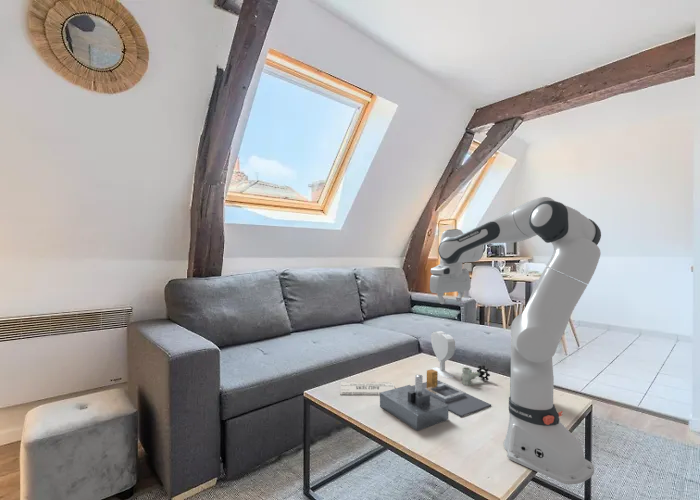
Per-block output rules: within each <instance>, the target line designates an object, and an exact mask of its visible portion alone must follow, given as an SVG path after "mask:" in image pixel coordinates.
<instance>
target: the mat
mask: <svg viewBox="0 0 700 500" xmlns="http://www.w3.org/2000/svg"><path fill="white" fill-rule="evenodd" d="M442 383H444V382H442V381H441V380H439V379H437V385H439V384H442ZM412 386H413V387H415V384H414V385H412ZM425 388H427V381H425V382H422V392H424V390H425ZM435 392H437V393H439V394H441V395H443V396H449V395H452V394H455V393H453V392H451V391H449V390H446V389H441V390H438V391H435ZM424 393H425V392H424ZM430 396H431V395H430ZM432 397H433V396H432ZM434 398H435V397H434ZM436 399H437V398H436ZM446 404H447V405H449V406H448V412H450V413H452V414H454V415H456V416H458V417H460V418H462V417H465V416H468V415H471V414H474V413H476V412H480V411H482V410H484V409H488V408H489V407H492V404H490V403H488V402H487V401H484V400H482V399H479V398H478V397H475V396H473V395H471V394H469V393H466V396H465V397H462V398H459V399H456V400H453V401H450V402H447V403H446Z"/></svg>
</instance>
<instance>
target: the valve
mask: <svg viewBox="0 0 700 500" xmlns="http://www.w3.org/2000/svg"><path fill="white" fill-rule="evenodd" d="M489 371H490V370H489V368H486V366H485V365H478V369H476V372H475V371H472V368H470V367H467V366H466V367H462V373H461V379H462V382H461V383H462V385H463V386H466V387H467V386H472V380H474V379H476V378H477V377H478V378H480V379H481V381H482V382H484V381H489V377H490V376H491V374H490V373H488V372H489ZM484 375H485V376H484Z"/></svg>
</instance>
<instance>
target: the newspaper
mask: <svg viewBox="0 0 700 500" xmlns="http://www.w3.org/2000/svg"><path fill="white" fill-rule="evenodd" d="M392 389H396V388H395V384H394V382H391V381H383V382H378V381H377V382H375V381H374V382H370V381H369V382H368V381H367V382H363V381H361V382H357V381H355V382H354V381H353V382H351V381H344V382H343V381H341V382H340V393H339V394H340V396H380V393H381V392H384V391H388V390H392Z"/></svg>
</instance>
